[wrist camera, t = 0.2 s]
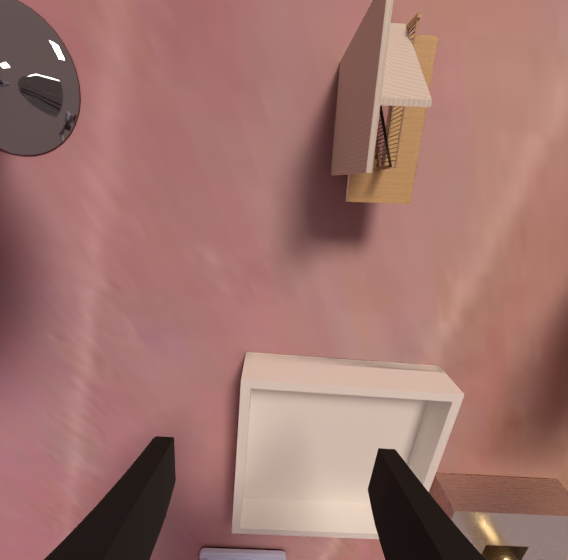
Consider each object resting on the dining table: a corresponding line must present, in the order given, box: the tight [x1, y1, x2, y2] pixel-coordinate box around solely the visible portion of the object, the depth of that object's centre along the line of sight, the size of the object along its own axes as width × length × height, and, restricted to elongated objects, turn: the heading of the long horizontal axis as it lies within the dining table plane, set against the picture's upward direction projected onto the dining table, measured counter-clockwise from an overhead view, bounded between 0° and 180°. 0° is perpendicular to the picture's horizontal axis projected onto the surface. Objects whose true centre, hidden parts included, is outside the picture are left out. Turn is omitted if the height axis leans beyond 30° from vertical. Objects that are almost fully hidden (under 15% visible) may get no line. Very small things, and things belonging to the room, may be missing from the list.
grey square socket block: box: [429, 473, 568, 560], centre depth 25 cm, size 11×11×3 cm
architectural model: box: [331, 0, 439, 204], centre depth 13 cm, size 3×7×7 cm, turn 178°
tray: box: [232, 352, 464, 539], centre depth 21 cm, size 14×14×3 cm
